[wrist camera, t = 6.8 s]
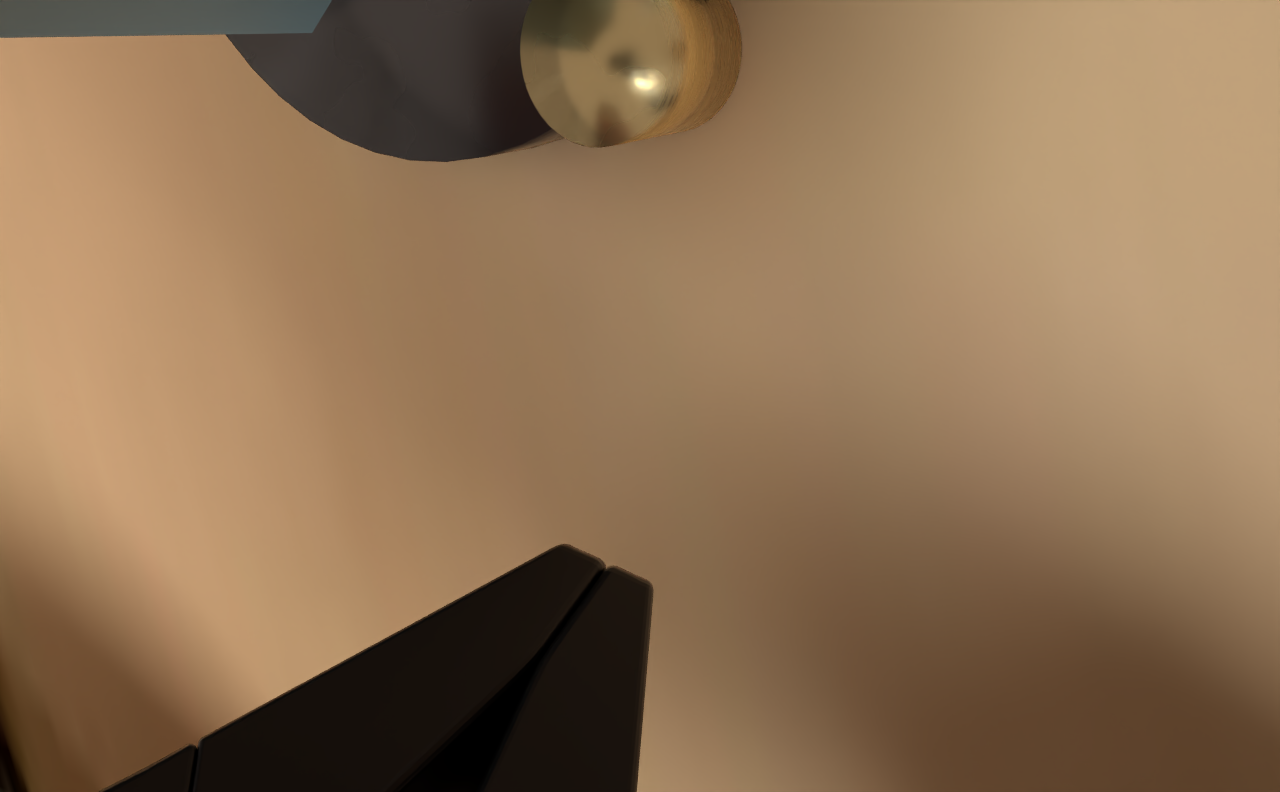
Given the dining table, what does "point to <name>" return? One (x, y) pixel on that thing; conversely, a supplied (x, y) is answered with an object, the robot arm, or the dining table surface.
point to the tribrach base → (503, 72)
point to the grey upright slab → (157, 17)
